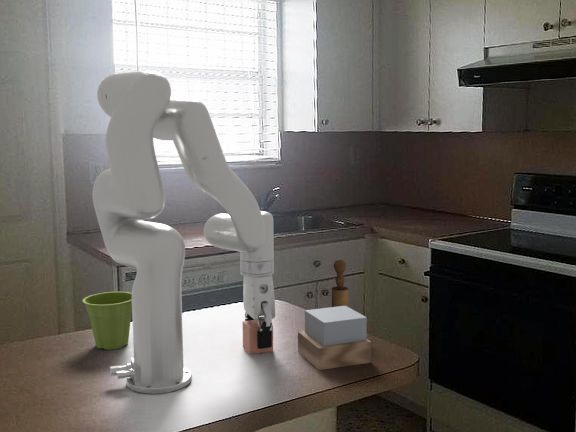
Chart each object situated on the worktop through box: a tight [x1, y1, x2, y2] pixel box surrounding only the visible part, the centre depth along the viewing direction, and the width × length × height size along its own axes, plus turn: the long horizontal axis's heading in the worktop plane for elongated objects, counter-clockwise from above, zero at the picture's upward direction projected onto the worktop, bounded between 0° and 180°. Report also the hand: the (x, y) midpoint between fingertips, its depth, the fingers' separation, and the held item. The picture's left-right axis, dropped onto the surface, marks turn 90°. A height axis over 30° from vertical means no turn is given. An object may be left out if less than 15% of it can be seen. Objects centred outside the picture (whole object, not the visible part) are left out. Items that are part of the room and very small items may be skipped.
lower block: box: [297, 330, 372, 371], centre depth 144 cm, size 12×12×5 cm
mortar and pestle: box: [331, 259, 349, 307], centre depth 160 cm, size 7×6×18 cm
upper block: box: [304, 306, 368, 346], centre depth 144 cm, size 10×10×5 cm
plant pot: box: [82, 291, 132, 351], centre depth 152 cm, size 12×12×11 cm
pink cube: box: [242, 320, 274, 355], centre depth 150 cm, size 6×6×6 cm
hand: (258, 341), depth 150 cm, fingers open, 9 cm apart
